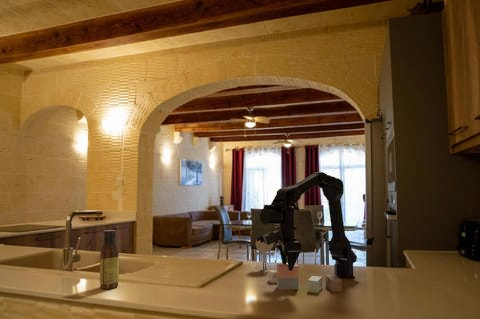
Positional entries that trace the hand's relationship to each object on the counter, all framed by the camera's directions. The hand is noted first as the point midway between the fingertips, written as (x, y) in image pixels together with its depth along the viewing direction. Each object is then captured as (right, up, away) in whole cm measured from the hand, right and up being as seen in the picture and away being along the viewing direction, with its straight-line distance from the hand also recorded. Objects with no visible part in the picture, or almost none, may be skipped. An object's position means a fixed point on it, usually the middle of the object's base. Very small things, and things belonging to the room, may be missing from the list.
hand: (287, 267), depth 123 cm
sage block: (+9, -7, -3) cm, 12 cm away
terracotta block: (0, -3, 0) cm, 3 cm away
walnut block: (+16, -7, -1) cm, 18 cm away
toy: (-6, -10, +30) cm, 32 cm away
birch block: (-2, -8, +9) cm, 12 cm away
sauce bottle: (-63, -7, -1) cm, 64 cm away
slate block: (0, -7, -1) cm, 7 cm away
